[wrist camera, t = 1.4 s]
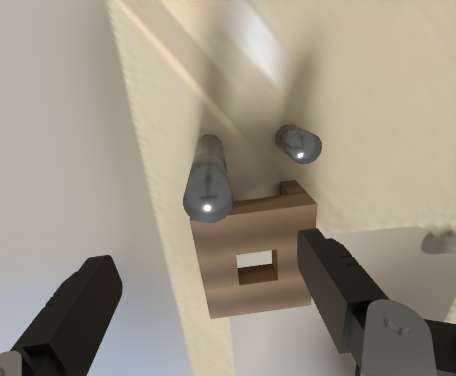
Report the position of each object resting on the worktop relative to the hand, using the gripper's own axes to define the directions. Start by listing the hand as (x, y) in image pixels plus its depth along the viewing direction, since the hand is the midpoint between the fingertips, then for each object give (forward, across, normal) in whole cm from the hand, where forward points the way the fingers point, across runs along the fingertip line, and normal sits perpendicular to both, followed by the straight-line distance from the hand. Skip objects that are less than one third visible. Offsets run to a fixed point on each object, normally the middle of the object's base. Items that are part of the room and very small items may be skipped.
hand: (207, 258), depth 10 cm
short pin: (+20, -10, 0) cm, 23 cm away
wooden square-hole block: (+20, -4, +14) cm, 25 cm away
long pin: (+20, 0, 0) cm, 20 cm away
